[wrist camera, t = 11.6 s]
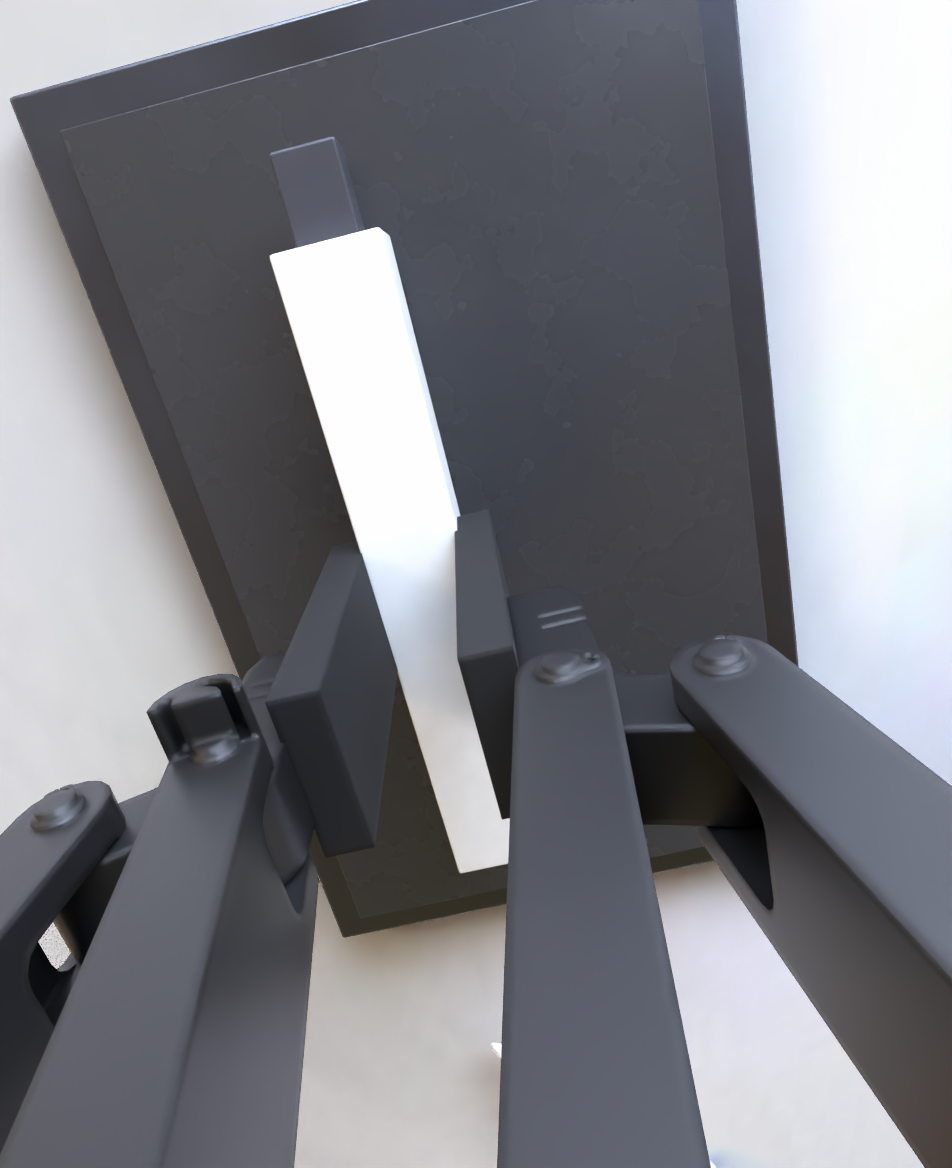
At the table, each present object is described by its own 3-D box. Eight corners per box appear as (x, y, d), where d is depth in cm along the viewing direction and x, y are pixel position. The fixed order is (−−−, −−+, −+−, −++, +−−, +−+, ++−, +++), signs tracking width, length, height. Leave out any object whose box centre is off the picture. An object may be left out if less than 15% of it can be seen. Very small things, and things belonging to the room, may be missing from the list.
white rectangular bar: (366, 145, 15) (352, 122, 13) (531, 795, 21) (541, 857, 18) (267, 172, 15) (237, 153, 13) (458, 811, 21) (459, 875, 19)
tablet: (710, -81, 15) (731, -110, 14) (801, 818, 23) (818, 845, 22) (32, 107, 16) (1, 94, 15) (346, 913, 24) (341, 944, 23)
